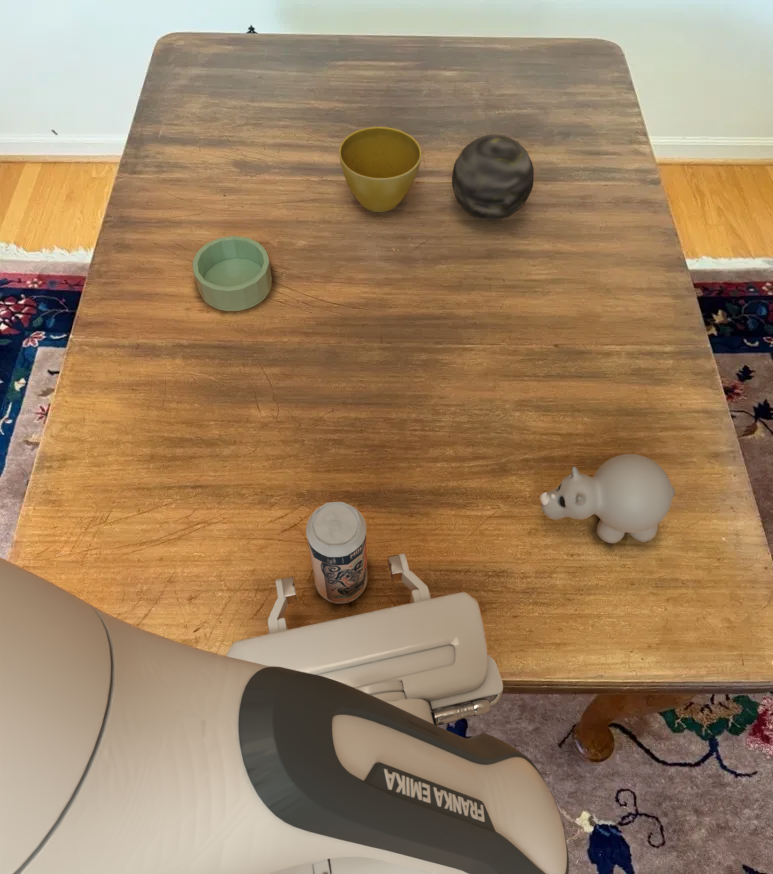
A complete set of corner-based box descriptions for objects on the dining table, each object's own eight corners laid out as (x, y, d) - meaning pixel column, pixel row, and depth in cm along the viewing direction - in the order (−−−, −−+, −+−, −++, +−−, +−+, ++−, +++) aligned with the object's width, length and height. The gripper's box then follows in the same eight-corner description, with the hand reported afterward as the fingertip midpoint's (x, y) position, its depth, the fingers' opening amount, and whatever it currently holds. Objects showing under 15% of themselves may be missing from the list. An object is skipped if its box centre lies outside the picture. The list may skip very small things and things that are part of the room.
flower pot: (403, 167, 100) (405, 119, 94) (429, 216, 95) (433, 169, 88) (331, 182, 98) (328, 134, 92) (354, 233, 93) (352, 186, 87)
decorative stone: (539, 227, 94) (555, 160, 85) (466, 245, 92) (475, 178, 83) (506, 178, 99) (519, 110, 90) (436, 193, 97) (443, 125, 88)
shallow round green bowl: (202, 316, 85) (196, 295, 82) (195, 263, 89) (189, 241, 86) (277, 304, 86) (273, 283, 83) (266, 253, 91) (263, 231, 88)
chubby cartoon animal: (525, 485, 74) (542, 440, 67) (645, 484, 74) (674, 438, 67) (535, 552, 70) (553, 512, 63) (661, 550, 70) (693, 510, 63)
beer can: (337, 616, 66) (331, 564, 56) (304, 578, 68) (292, 520, 58) (378, 582, 68) (378, 526, 58) (344, 546, 70) (340, 485, 60)
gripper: (517, 698, 54) (464, 527, 61) (233, 766, 51) (212, 579, 58) (504, 716, 59) (456, 558, 66) (246, 779, 56) (226, 606, 63)
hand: (340, 568), depth 62 cm, fingers open, 8 cm apart
